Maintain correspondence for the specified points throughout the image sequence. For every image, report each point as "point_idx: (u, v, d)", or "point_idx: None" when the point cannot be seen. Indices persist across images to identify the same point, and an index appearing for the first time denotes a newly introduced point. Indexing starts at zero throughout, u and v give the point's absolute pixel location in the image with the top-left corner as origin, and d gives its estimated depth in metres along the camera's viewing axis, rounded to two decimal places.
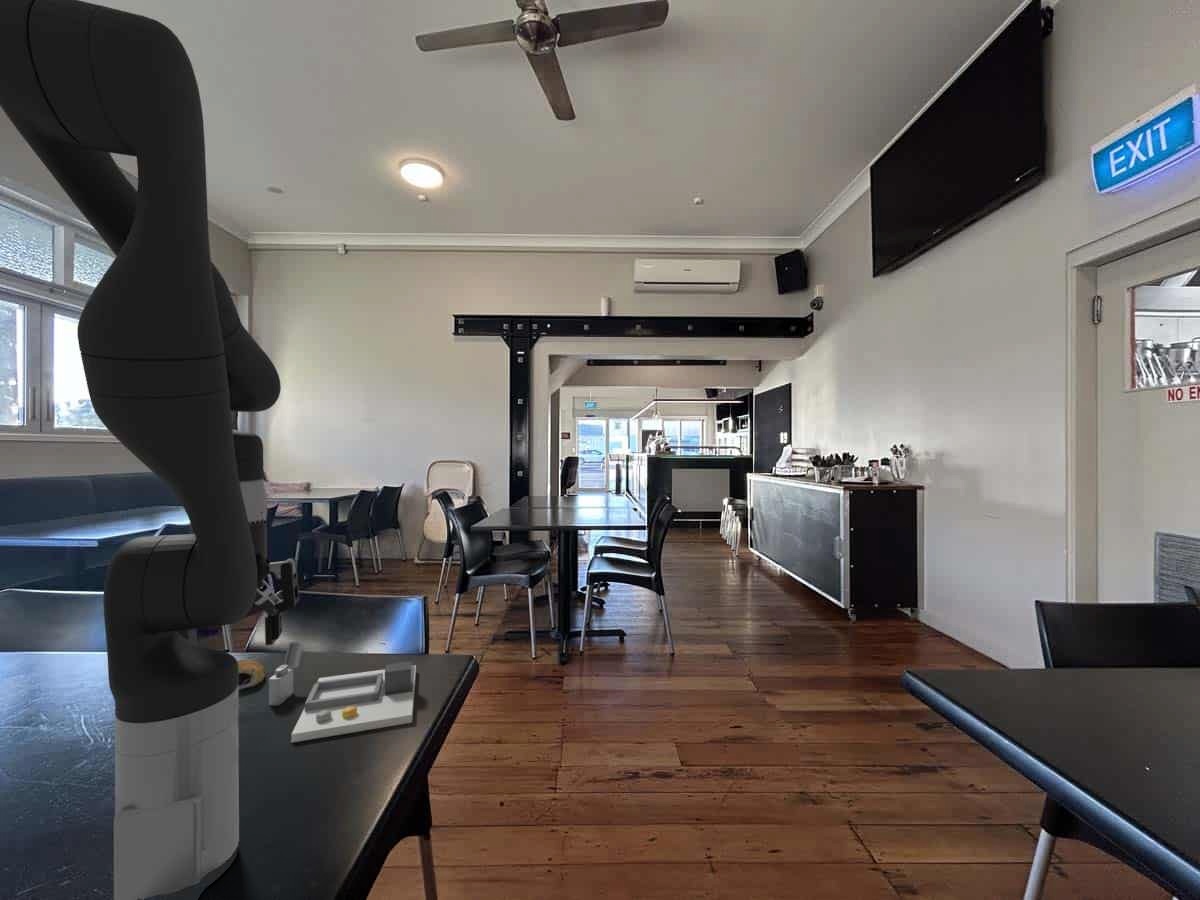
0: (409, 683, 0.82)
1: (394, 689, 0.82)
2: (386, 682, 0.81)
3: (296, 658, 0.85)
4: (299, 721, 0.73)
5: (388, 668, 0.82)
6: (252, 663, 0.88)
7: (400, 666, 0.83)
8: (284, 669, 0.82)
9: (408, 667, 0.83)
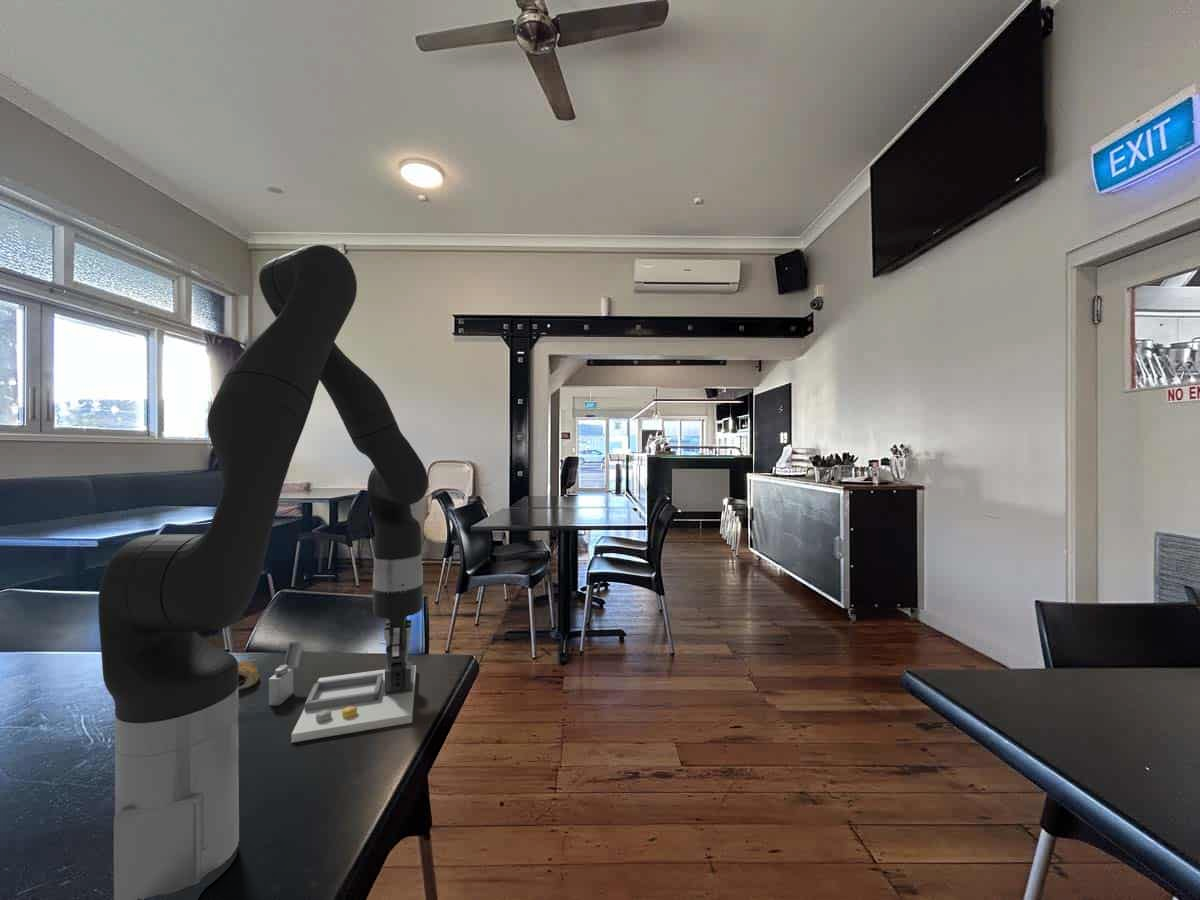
0: (409, 683, 0.82)
1: None
2: (386, 682, 0.81)
3: (296, 658, 0.85)
4: (299, 721, 0.73)
5: (388, 668, 0.83)
6: (246, 665, 0.88)
7: None
8: (284, 669, 0.82)
9: (408, 667, 0.83)
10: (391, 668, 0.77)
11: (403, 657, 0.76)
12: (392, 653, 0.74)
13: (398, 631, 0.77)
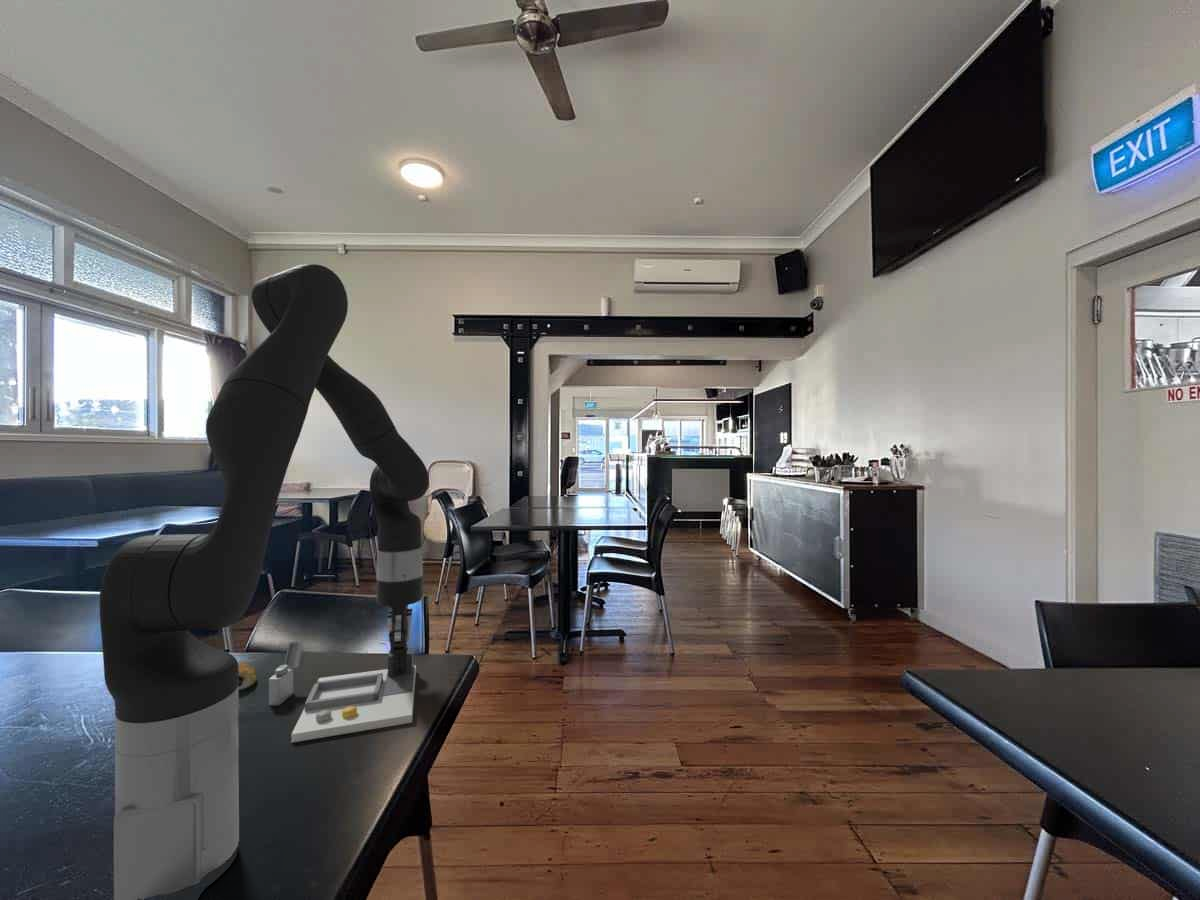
0: (411, 667, 0.88)
1: None
2: (389, 666, 0.87)
3: (296, 658, 0.85)
4: (299, 721, 0.73)
5: None
6: (243, 665, 0.87)
7: None
8: (284, 669, 0.82)
9: (410, 652, 0.89)
10: (393, 653, 0.83)
11: (404, 642, 0.82)
12: (394, 638, 0.80)
13: (400, 618, 0.82)
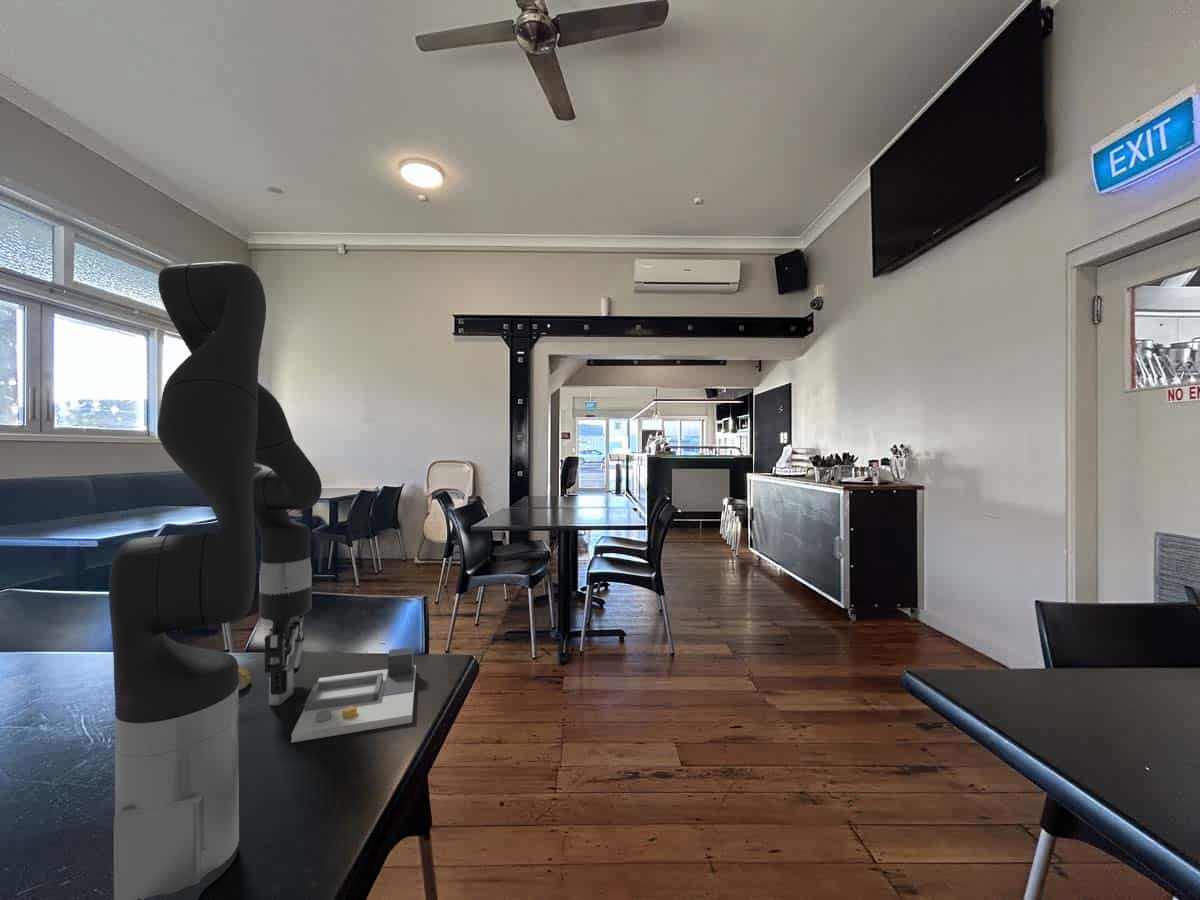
0: (411, 667, 0.88)
1: (397, 672, 0.88)
2: (389, 666, 0.87)
3: (296, 658, 0.85)
4: (299, 721, 0.73)
5: (391, 653, 0.89)
6: None
7: (402, 651, 0.90)
8: None
9: (410, 652, 0.89)
10: (267, 671, 0.77)
11: (281, 649, 0.77)
12: (270, 641, 0.77)
13: (282, 628, 0.80)
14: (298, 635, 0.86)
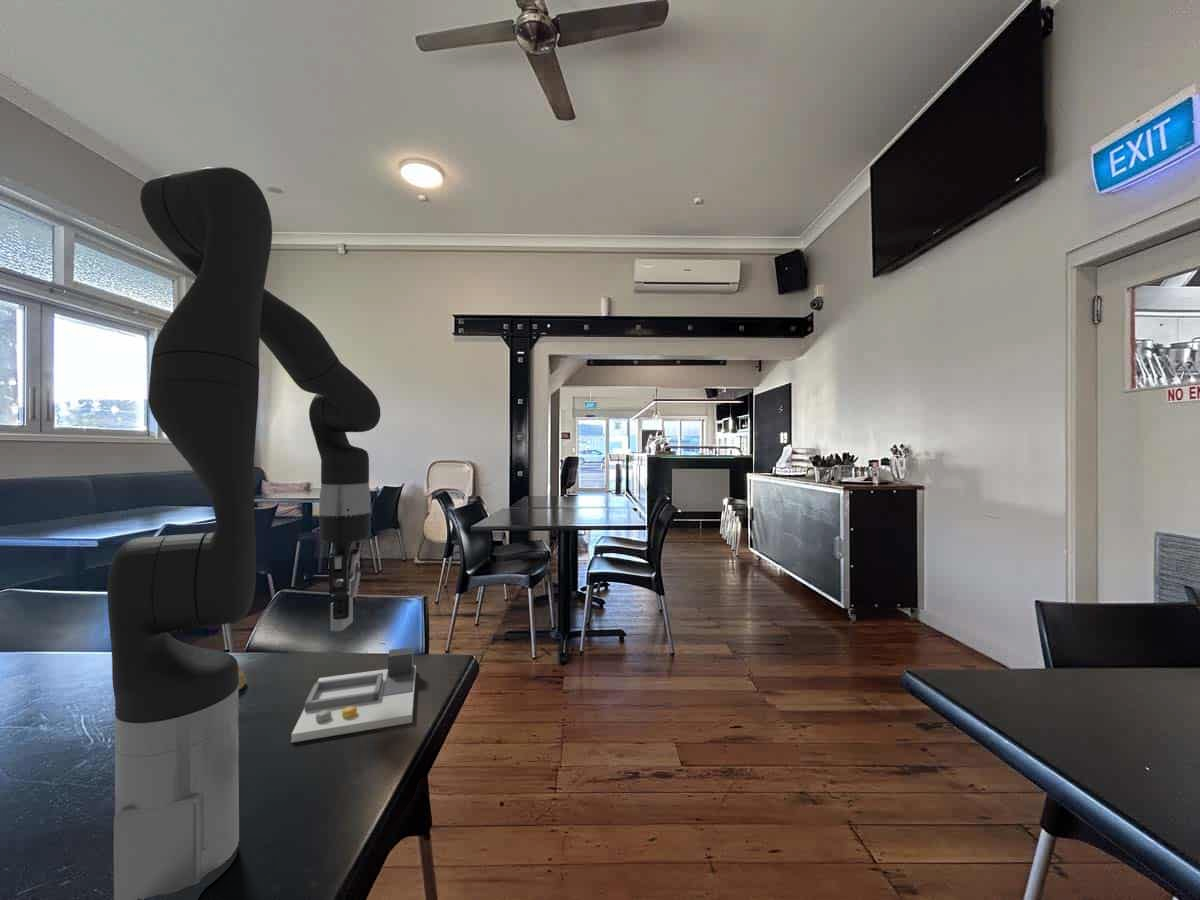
0: (411, 667, 0.88)
1: (397, 672, 0.88)
2: (389, 666, 0.87)
3: (355, 587, 0.82)
4: (299, 721, 0.73)
5: (391, 653, 0.89)
6: None
7: (402, 651, 0.90)
8: None
9: (410, 652, 0.89)
10: (332, 592, 0.74)
11: (345, 571, 0.75)
12: (334, 561, 0.74)
13: (344, 552, 0.78)
14: (356, 564, 0.83)
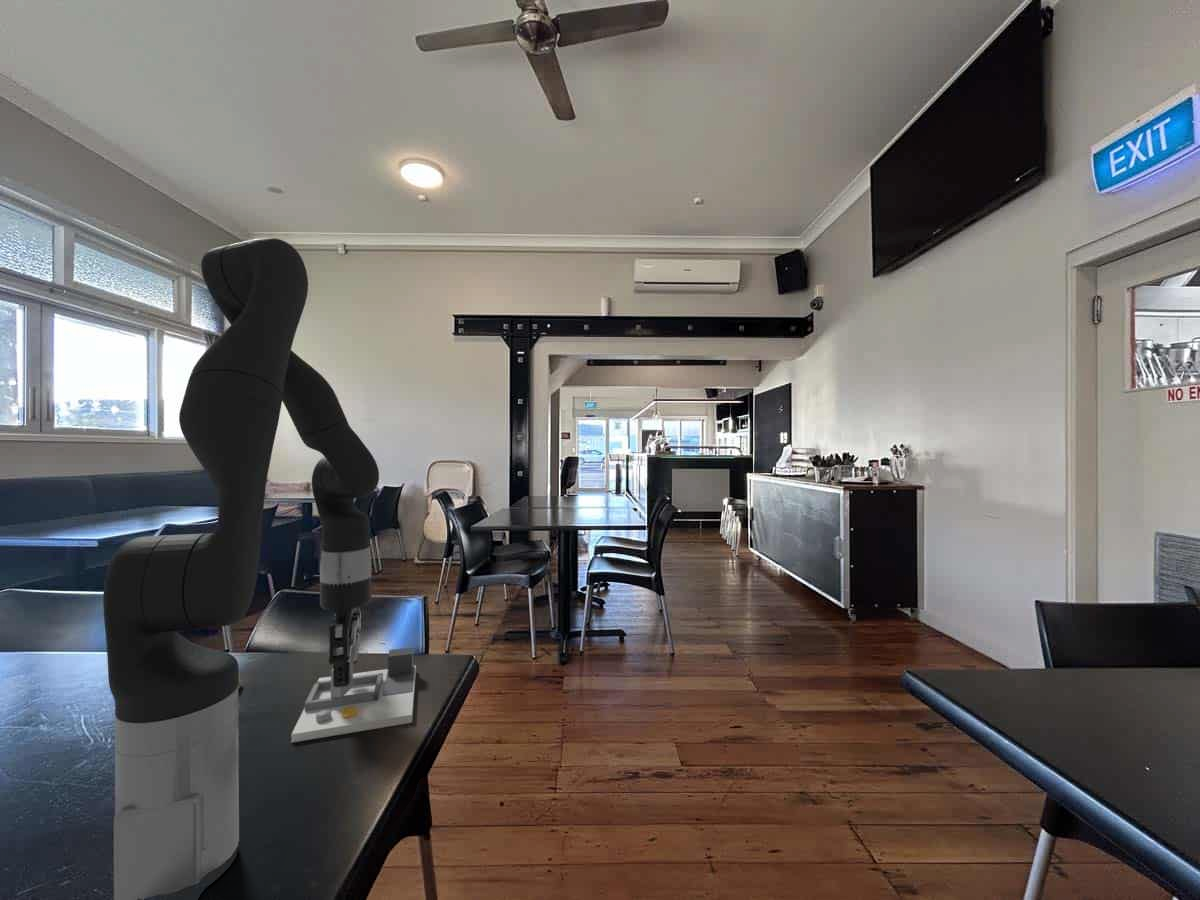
0: (411, 667, 0.88)
1: (397, 672, 0.88)
2: (389, 666, 0.87)
3: (355, 650, 0.83)
4: (299, 721, 0.73)
5: (391, 653, 0.89)
6: None
7: (402, 651, 0.90)
8: None
9: (410, 652, 0.89)
10: (332, 662, 0.74)
11: (346, 639, 0.75)
12: (335, 630, 0.74)
13: (344, 619, 0.78)
14: (357, 626, 0.83)
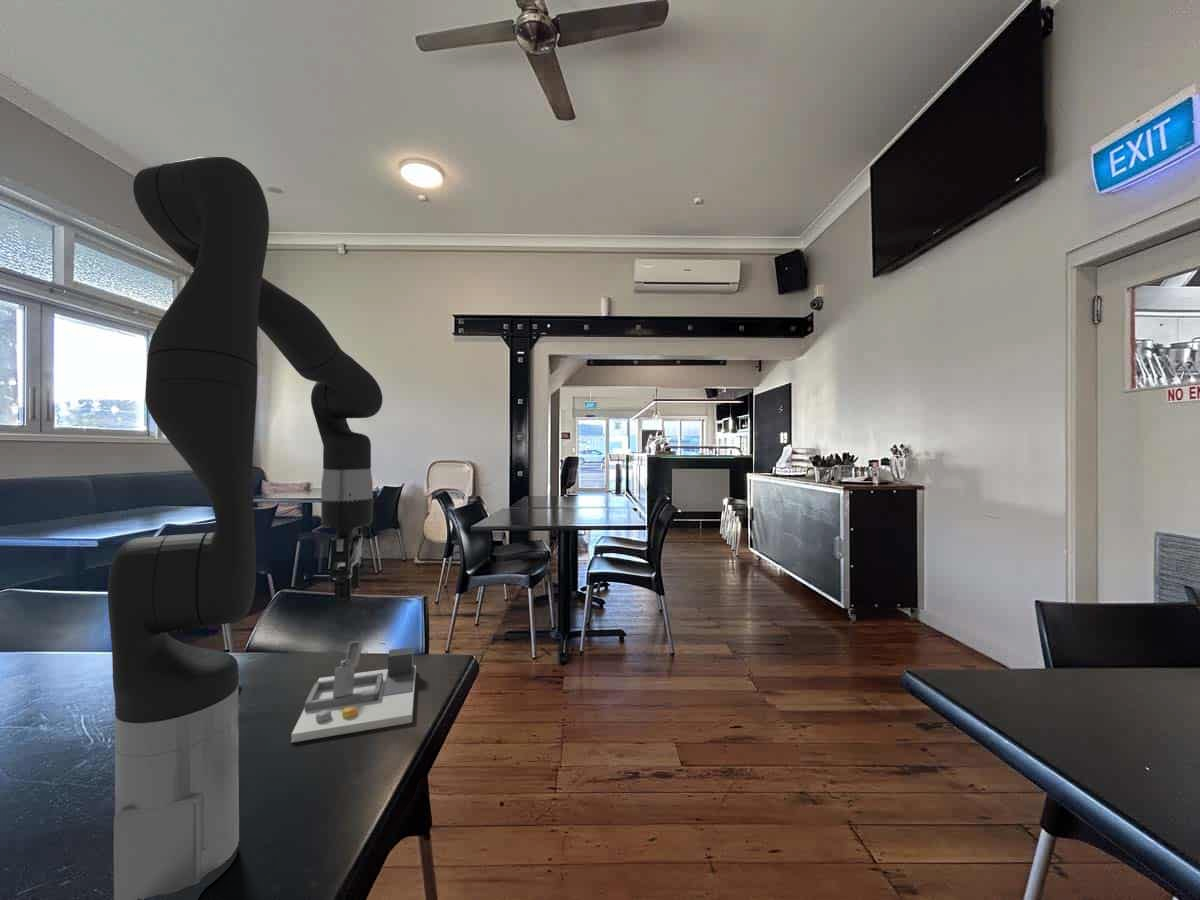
0: (411, 667, 0.88)
1: (397, 672, 0.88)
2: (389, 666, 0.87)
3: (357, 656, 0.84)
4: (299, 721, 0.73)
5: (391, 653, 0.89)
6: None
7: (402, 651, 0.90)
8: (348, 661, 0.81)
9: (410, 652, 0.89)
10: (333, 576, 0.74)
11: (347, 553, 0.75)
12: (336, 544, 0.74)
13: (346, 536, 0.78)
14: (359, 550, 0.83)
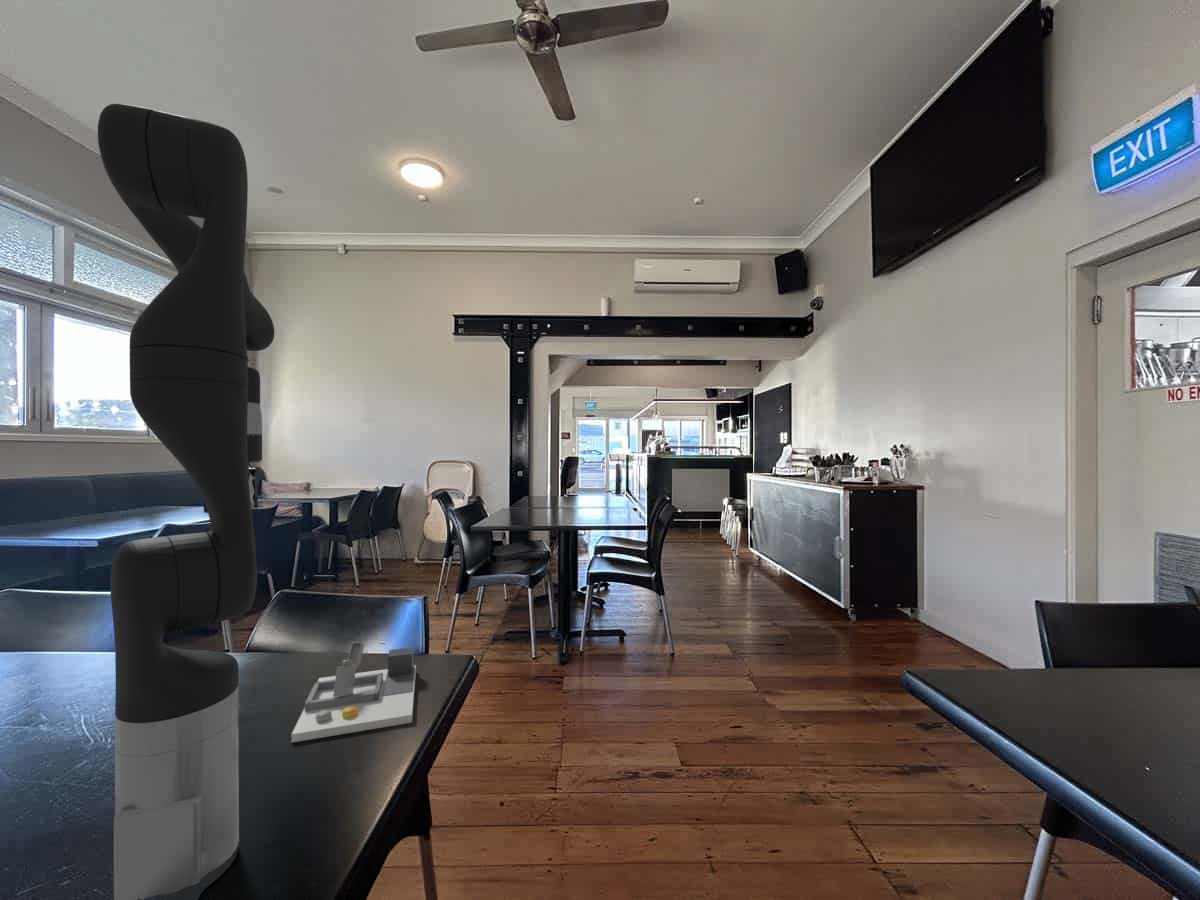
0: (411, 667, 0.88)
1: (397, 672, 0.88)
2: (389, 666, 0.87)
3: (359, 656, 0.84)
4: (299, 721, 0.73)
5: (391, 653, 0.89)
6: None
7: (402, 651, 0.90)
8: (350, 661, 0.81)
9: (410, 652, 0.89)
10: (207, 510, 0.70)
11: None
12: None
13: None
14: (248, 490, 0.79)
